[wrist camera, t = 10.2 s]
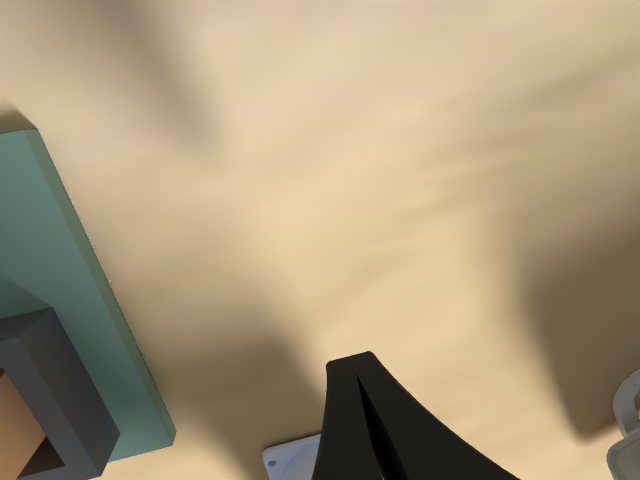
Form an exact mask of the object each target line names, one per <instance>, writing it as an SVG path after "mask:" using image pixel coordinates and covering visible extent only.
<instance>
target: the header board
mask: <svg viewBox="0 0 640 480" xmlns="http://www.w3.org/2000/svg"><path fill="white" fill-rule="evenodd" d="M0 368H3V369H4V371H5V372H6V374H7V375H8V377H9V378H10V380H11V381H12V383H13V385H14V386H15V388H16V389H17V391H18V392H19V394H20V395H21V397H22V399H23V400H24V402H25V403H26V405H27V406H28V408H29V409H30V411H31V413H32V414H33V416H34V417H35V419H36V420H37V422H38V423H39V425H40V426H41V428H42V430H43V431H44V433H45V434H46V437H45V438H44V440H43V441H42V442H41V444H40V445H39V447H38V448H37V450H36V451H35V452H34V454H33V455H32V457H31V458H30V460H29V461H28V463H27V464H26V465H25V467H24V468H23V470H22V471H21V473H20V474H19V476H18V477H17V478H16V480H88V479H92V478H96V477H99V476H101V475H102V473H103V471H104V469H105V467H106V464H107V463H108V462H112V461H116V460H120V459H123V458H127V457H131V456H135V455H138V454H142V453H146V452H150V451H154V450H157V449H161V448H165V447H169V446H172V445H173V442H174V438H175V435H176V429H175V427H174V425H173V423H172V420H171V418H170V416H169V414H168V412H167V410H166V407H165V405H164V403H163V401H162V399H161V397H160V394H159V392H158V390H157V388H156V386H155V383H154V381H153V379H152V377H151V375H150V373H149V370H148V368H147V366H146V364H145V362H144V360H143V357H142V355H141V353H140V351H139V349H138V347H137V344H136V342H135V340H134V338H133V336H132V333H131V331H130V329H129V327H128V325H127V323H126V320H125V318H124V316H123V314H122V312H121V310H120V307H119V305H118V303H117V301H116V299H115V297H114V294H113V292H112V290H111V288H110V286H109V283H108V281H107V279H106V277H105V275H104V273H103V270H102V268H101V266H100V264H99V262H98V260H97V257H96V255H95V253H94V251H93V249H92V247H91V244H90V242H89V240H88V238H87V236H86V234H85V231H84V229H83V227H82V225H81V223H80V220H79V218H78V216H77V214H76V212H75V210H74V207H73V205H72V203H71V201H70V199H69V197H68V194H67V192H66V190H65V188H64V186H63V184H62V181H61V179H60V177H59V175H58V173H57V170H56V168H55V166H54V164H53V162H52V160H51V157H50V155H49V153H48V151H47V149H46V147H45V144H44V142H43V140H42V138H41V136H40V134H39V131H38V129H29V130H19V131H14V132H9V133H4V134H0Z"/></svg>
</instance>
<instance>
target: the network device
mask: <svg viewBox="0 0 640 480" xmlns="http://www.w3.org/2000/svg"><path fill="white" fill-rule="evenodd" d="M639 391H640V369H638V370H637V371H635V372H634V373H632V374H631V375H630V376H629V377H628V378H627V379H625V381H624V382H623V383H622V384H621V385H620V387H619V388H618V390H617V392H616V394H615V396H614V399H613V412H614V415H615V417H616V420H617V423H618V425H619V428H620V431H621V433H622V436H623V437H624V439H623V440H621V441H619V442H617V443H615V444H614V445H613V446H611V448H610V449H609V450H608V453H607V463H608V467H609V469H610V471H611V474H612V476H613V478H614V480H640V419H639V416H638V413H637V410H636V407H635V404H634V399H635V397H636V395H637V393H638V392H639Z"/></svg>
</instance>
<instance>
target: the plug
mask: <svg viewBox="0 0 640 480" xmlns="http://www.w3.org/2000/svg"><path fill="white" fill-rule="evenodd" d="M45 437H46V434H45V433H44V431H43V430H42V428H41V426H40V425H39V423H38V422H37V420H36V419H35V417H34V416H33V414H32V413H31V411H30V409H29V408H28V406H27V405H26V403H25V402H24V400H23V399H22V397H21V395H20V394H19V392H18V391H17V389H16V388H15V386H14V385H13V383H12V381H11V380H10V378H9V377H8V375H7V374H6V372H5V371H4V369H3V368H0V480H16V478H17V477H18V476H19V474H20V473H21V471H22V470H23V468H24V467H25V465H26V464H27V463H28V461H29V460H30V458H31V457H32V455H33V454H34V452H35V451H36V450H37V448H38V447H39V445H40V444H41V442H42V441H43V440H44V438H45Z"/></svg>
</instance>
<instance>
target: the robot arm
mask: <svg viewBox="0 0 640 480" xmlns="http://www.w3.org/2000/svg"><path fill="white" fill-rule="evenodd" d="M326 371H327V392H326V404H325V412H324V420H323V427H322V432H321V434H318V435H315V436H311V437H307V438H303V439H300V440H296V441H292V442H289V443H285V444H281V445H277V446H274V447H270V448H267V449H265V450H264V451H263V462H264V465H265V467H266V470H267V473H268V476H269V479H270V480H520V479H519V478H517V477H515V476H514V475H512V474H511V473H509V472H508V471H506V470H504V469H503V468H502V467H500V466H499V465H497V464H496V463H494V462H493V461H492V460H490V459H489V458H487V457H486V456H484V455H483V454H482V453H480V452H479V451H477V450H476V449H475V448H473V447H472V446H471V445H469V444H468V443H467V442H465V441H464V440H463V439H461V438H460V437H459V436H458V435H456V434H455V433H454V432H453V431H451V430H450V429H449V428H448V427H447V426H445V425H444V424H443V423H442V422H441V421H439V420H438V419H437V418H436V417H435V416H434V415H432V414H431V413H430V412H429V411H428V410H427V409H426V408H425V407H423V406H422V405H421V404H420V403H419V402H418V401H417V400H416V399H415V398H414V397H413V396H412V395H411V394H410V393H409V392H408V391H407V390H406V389H405V388H404V387H403V386H402V385H401V384H400V383H399V382H398V381H397V380H396V379H395V378H394V377H393V376H392V375H391V374H390V373H389V372H388V370H387V369H386V368H385V367H384V366H383V365H382V364H381V362H380V361H379V360H378V359H377V357H376V356H375V355H374V353H372V352H370V351H367V352H364V353H360V354H356V355H352V356H348V357H344V358H340V359H336V360H332V361H329V362H328V363H327V364H326Z"/></svg>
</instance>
